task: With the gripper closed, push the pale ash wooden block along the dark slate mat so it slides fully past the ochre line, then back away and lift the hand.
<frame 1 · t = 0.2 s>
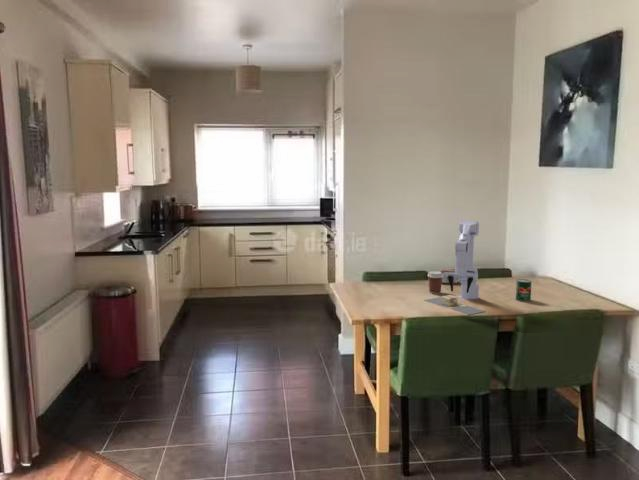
hand: (459, 291, 271), 10 cm above the table, tool pointing down, fingers open, 7 cm apart
tin: (450, 283, 341), on the table
ash block: (449, 304, 286), resting on slide mat
slide mat: (453, 306, 284), on the table
coffee cup: (435, 292, 315), on the table
canned tomato: (523, 300, 297), on the table
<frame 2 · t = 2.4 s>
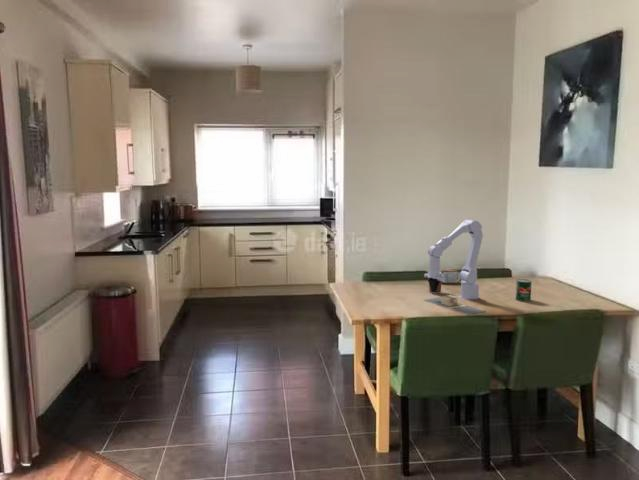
hand: (433, 292, 296), 5 cm above the table, tool pointing down, fingers closed
nothing on the table moved.
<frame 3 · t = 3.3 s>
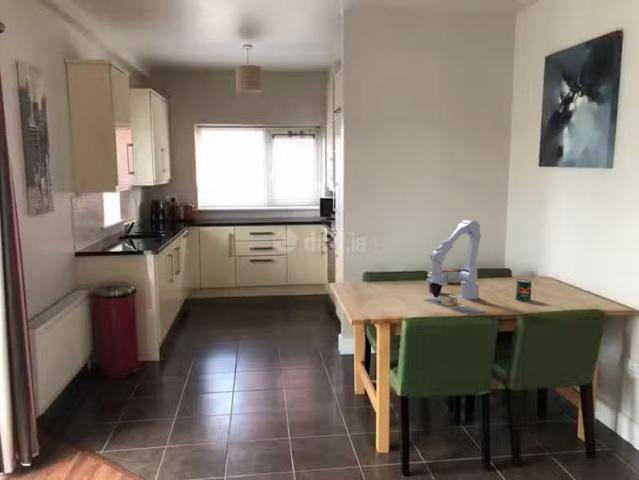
hand: (436, 297, 295), 2 cm above the table, tool pointing down, fingers closed
nothing on the table moved.
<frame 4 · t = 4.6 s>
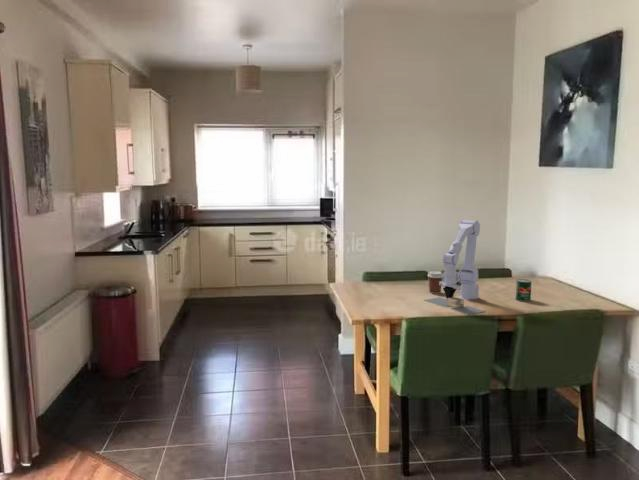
hand: (449, 300, 286), 2 cm above the table, tool pointing down, fingers closed
ash block: (455, 305, 282), point 1 cm above the table
everything else where it was.
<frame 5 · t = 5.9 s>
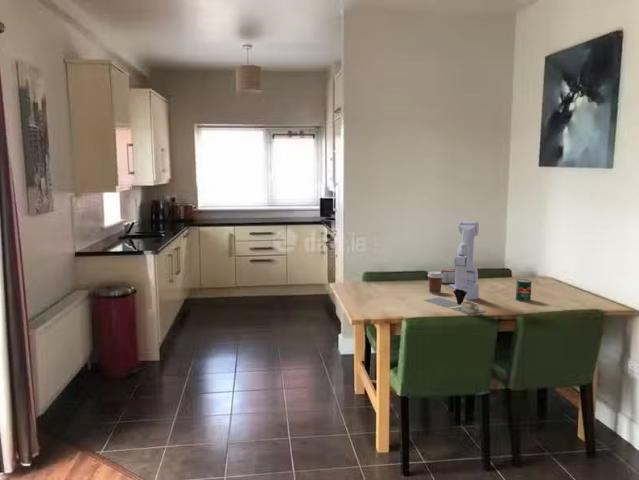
hand: (459, 304, 279), 2 cm above the table, tool pointing down, fingers closed
ash block: (469, 310, 273), resting on slide mat
everything else where it was.
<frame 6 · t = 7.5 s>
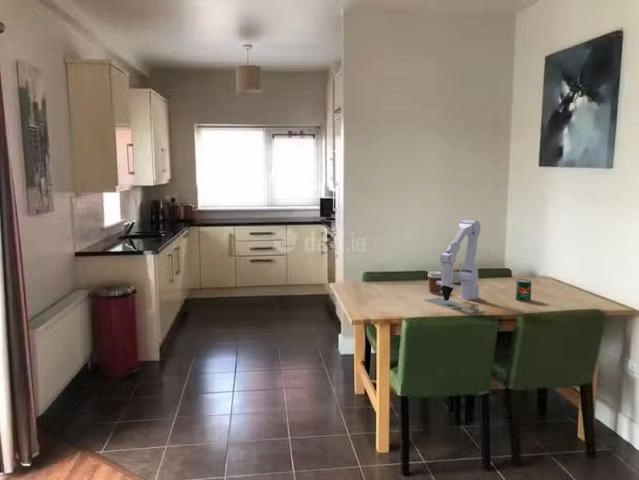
hand: (446, 300, 288), 2 cm above the table, tool pointing down, fingers closed
nothing on the table moved.
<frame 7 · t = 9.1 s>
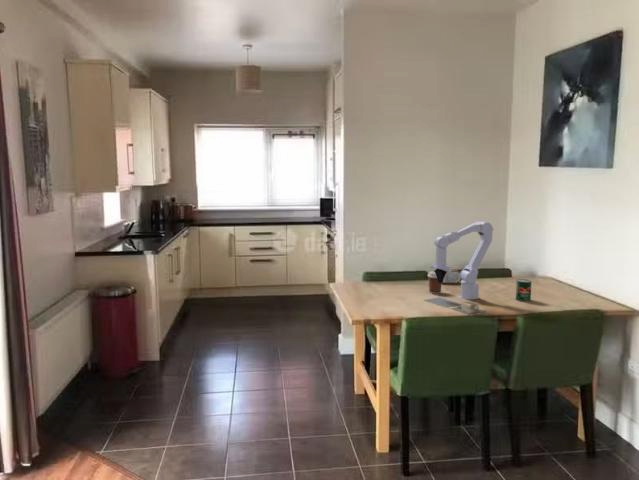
hand: (440, 282, 297), 9 cm above the table, tool pointing down, fingers closed
nothing on the table moved.
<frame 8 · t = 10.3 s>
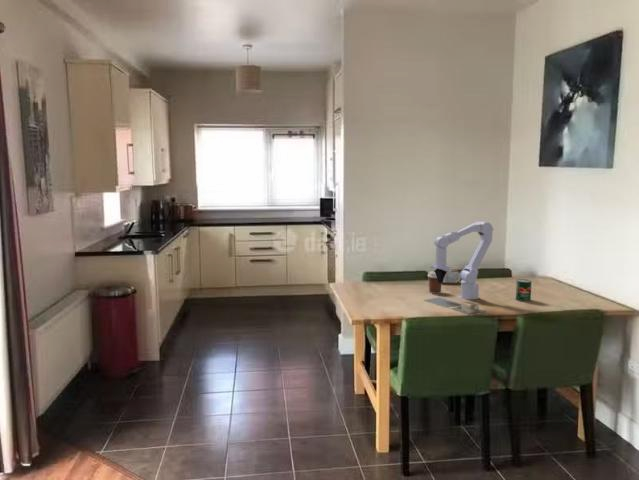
hand: (440, 282, 297), 9 cm above the table, tool pointing down, fingers closed
nothing on the table moved.
at the end: ash block inside the target area (0.4 cm from its centre), point 0.5 cm above the table; ash block tilted 0°; ash block moved 15.4 cm from its start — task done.
